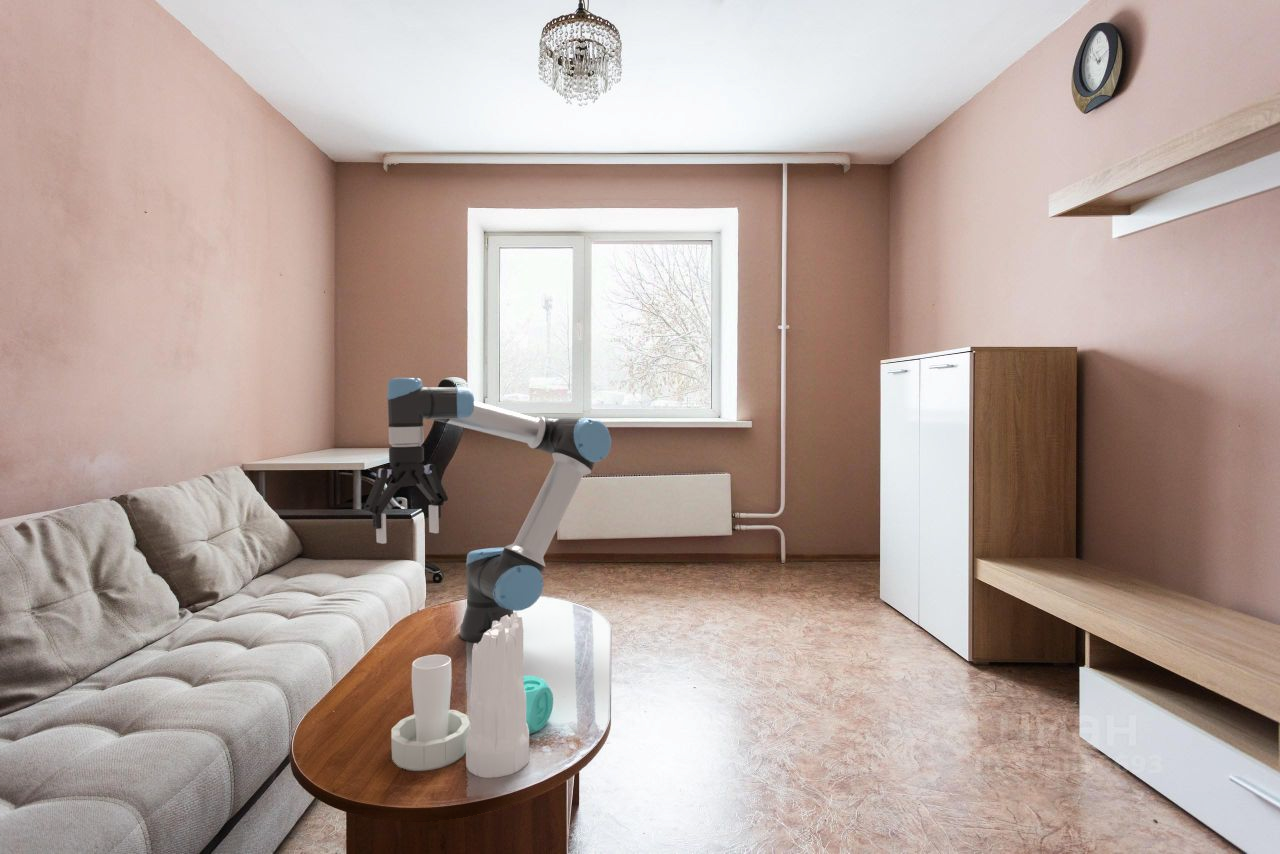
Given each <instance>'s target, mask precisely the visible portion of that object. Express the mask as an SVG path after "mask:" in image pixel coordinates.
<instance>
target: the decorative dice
mask: <svg viewBox="0 0 1280 854" xmlns="http://www.w3.org/2000/svg"><path fill="white" fill-rule="evenodd" d="M523 683H524V689H525V693H526V723H527V725H528V729H529V735H531V734H535V733H537V732H539V731H540V730H542V729H543V728H545V726H546V725H547V723H548V721H549V720H550V717H551V715H552V711H553V707H554V696H553V692H552V690H551V688H550V686H549V684H548V683H547V682H546V681H545V680H544V679H543V678H542V677H539V676H537V675H536V676H535V675H523Z"/></svg>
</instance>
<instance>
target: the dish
mask: <svg viewBox="0 0 1280 854" xmlns="http://www.w3.org/2000/svg"><path fill="white" fill-rule="evenodd" d="M469 731H470V719H469V716H468V715H467V714H465V713H463V712H461V711H459V710H456V709H449V720H448V736H447V737H445V738H443V739H438V740H433V741H428V742H417V741H416V727H415V716H414V713H413V714H411V715H408V716H406V717H404V718H402V719H400V720H399V721H397V723H396V724H395V725H394V726H393V727H392V728H391V730H390V732H391V734H390V735H391V737H390V738H391V739H390V740H391V741H390V742H391V744H390V745H391V747H390V748H391V760H393V761H392V763H393V762H394V763H395V764H396V765H397V766H396V765H395V764H394V763H393V764H394V765H395V766H396V767H398V768H399V769H402V768H404V769H403V770H405V769H406V771H410V772H411V771H412V772H425V771H426V772H427V771H434V770H437V769H441V768H443V767H447V766H449V765H452V764H454V763H456V762H457V761H459V760H461V759H462V758H464V756H466V738H467V735H468V732H469Z"/></svg>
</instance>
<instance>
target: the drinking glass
mask: <svg viewBox="0 0 1280 854" xmlns="http://www.w3.org/2000/svg"><path fill="white" fill-rule="evenodd" d="M452 672H453V670H452V658H451V657H450V656H448V655H446V654H440V653H439V654H428V655H425V656H421V657H417V658H416V659H415V660H413V662H412V663H411V692H412V693H411V694H412V702H413V703H412V704H413V714H414V716H415V727H416V741H417V742H428V741H433V740H438V739H443V738H445V737H447V736H448V720H449V710H450V708H451V706H450V705H451V693H452V682H453V681H452V680H453V679H452V677H453V673H452Z"/></svg>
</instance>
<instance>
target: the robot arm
mask: <svg viewBox="0 0 1280 854" xmlns="http://www.w3.org/2000/svg"><path fill="white" fill-rule="evenodd" d="M386 392H387V394H386V395H387V396H386V400H387V416H388V444H389V445H390V446H389V448H388V461H389V465H390V466H389V469H387V468H377V469H376V474H375V475H376V476H375V480H374V483H373V484H372V488H371V489H370V492H369V495H368V497H367V499H366V501H365V504H364V506H363V511H364V512H366V513H371V514H372V527H373V529H375V533H376V535H375V536H376V537H375V538H376V539H375V541H376V543H377V544H381V545H382V544H387V515H386V513H383V512H384V510H385V509H386V508H387V506H388V505H389V503H390V501H392V499H393V497H394V496H395V495H396V493H397V491H398V490H399V489H400V488H402V487H406V488H407V487H409V486H416V487H417V488H418V489H419V490H420V492H422V494H423V495H424V497H425V498H427V500H428V501H429V502H430V504H428V531H429V533H433V534H438V533H440V531H439V529H440V527H439V525H440V524H439V523H440V522H439V519H441V517H442V515H441V513H442V511H441V510H442V509H441V507H442V506H443V505H444V503H445V502H447V501H449V497H448V495H447V494H446V493H447V492H446V491H445V489H444V486H443V485H442V482H441V480H440V478H439V476H438V474H437V467H436V464H433V463H432V464H431V463H426V464H425V465H424V461H425V447H424V446H423V445H422V444H423V443H424V442H425V441H424V439H425V437H424V420H431V421H436V422H440V423H445V424H449V425H453V426H458V427H461V428H465V429H469V430H472V431H476V432H481V433H485V434H488V435H493V436H497V437H501V438H504V439H508V440H514V441H516V442H517V441H518V442H521V443H525V444H527V445H528V447H529V448H531V449H535V450H538V451H541V452H545V453H547V454H549V455H551V456H552V458H553V464H552V466H551V468H550V470H549V472H548V474H547V475H546V478H545V480H544V482H543V483H542V486H541V488H540V490H539V492H538V494H537V495H536V498H535V500H534V501H533V503H532V506H531V508H530V509H529V512H528V514H527V516H526V517H525V519H524V522H523V524H522V526H521V528H520V529H519V532H518V534H517V535H516V538H515V540H514V541H513V542H512V543H511V544H508V545H506V546H504V547H488V548H482V549H475V550H471V551H469V552H468V553H467V555H466V563H465V568H466V571H465V572H466V608H465V611H464V616H463V618H462V623H461V625H460V627H459V629H460V630H459V632H460V634H459V635H460V638H461V639H462V640H465V641H467V642H471V643H479V642H480V641H481V640H482V637H483V634H484V633H486V631H488V630H489V629H491V628H492V622H493V621H498V622H499V621H500V619H501V618H502V617H504V616H506V615H508V617H510V616H511V614H513V613H515V612H519V611H523V610H526V609H528V608H530V607H532V606H533V605H534V604H535V603H537V601H538V600H539V599H540V597H541V595H542V593H543V591H544V583H545V582H544V580H543V579H544V578H543V572H544V571H545V568H546V562H545V560H544V556H545V555H546V553H547V551H548V549H549V546H550V545H551V542H552V540H553V538H554V536H555V534H556V532H557V530H558V528H559V526H560V524H561V521H562V520H563V517H564V515H565V514H566V511H567V510H568V508H569V505H570V503H571V501H572V500H573V497H574V495H575V493H576V491H577V489H578V488H579V487H578V486H579V484H580V483H581V481H582V478H583V477H584V476H587V475H590V474H591V472H592V471H593V468H594V467H595V465H596V463H599V462H601V461H603V460H604V459H606V458H607V456H608V455H609V453H610V451H611V447H612V437H611V435H610V430H609V429H608V427H607V426H606V425H605V424H604V422H602V421H601V420H599V419H597V418H591V417H581V418H580V417H579V418H578V417H548V416H545V415H544V416H543V415H540V414H539V415H538V414H537V415H536V416H529V415H527V414H522V413H519V412H516V411H512V410H508V409H505V408H501V407H497V406H493V405H490V404H487V403H483V402H479V401H475V397H474V393H473V392H472V390H471V389H470V388H469V387H461V386H460V387H459V386H455V387H454V386H442V387H441V386H439V387H436V386H435V387H434V386H433V387H429V386H424V384H423V380H422V379H421V378H418V377H395V378H394V377H393V378H391V379H390V380H389V381H388V382H387V391H386ZM424 474H425V475H426V478H427V479H428V482H429V484H430V485H429V484H428V482H427V480H426V479H425V478H424V476H423V475H424ZM389 477H391V478H390V480H389V481H388V483H387V480H388V478H389ZM386 483H387V486H386ZM385 487H386V488H385Z"/></svg>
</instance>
